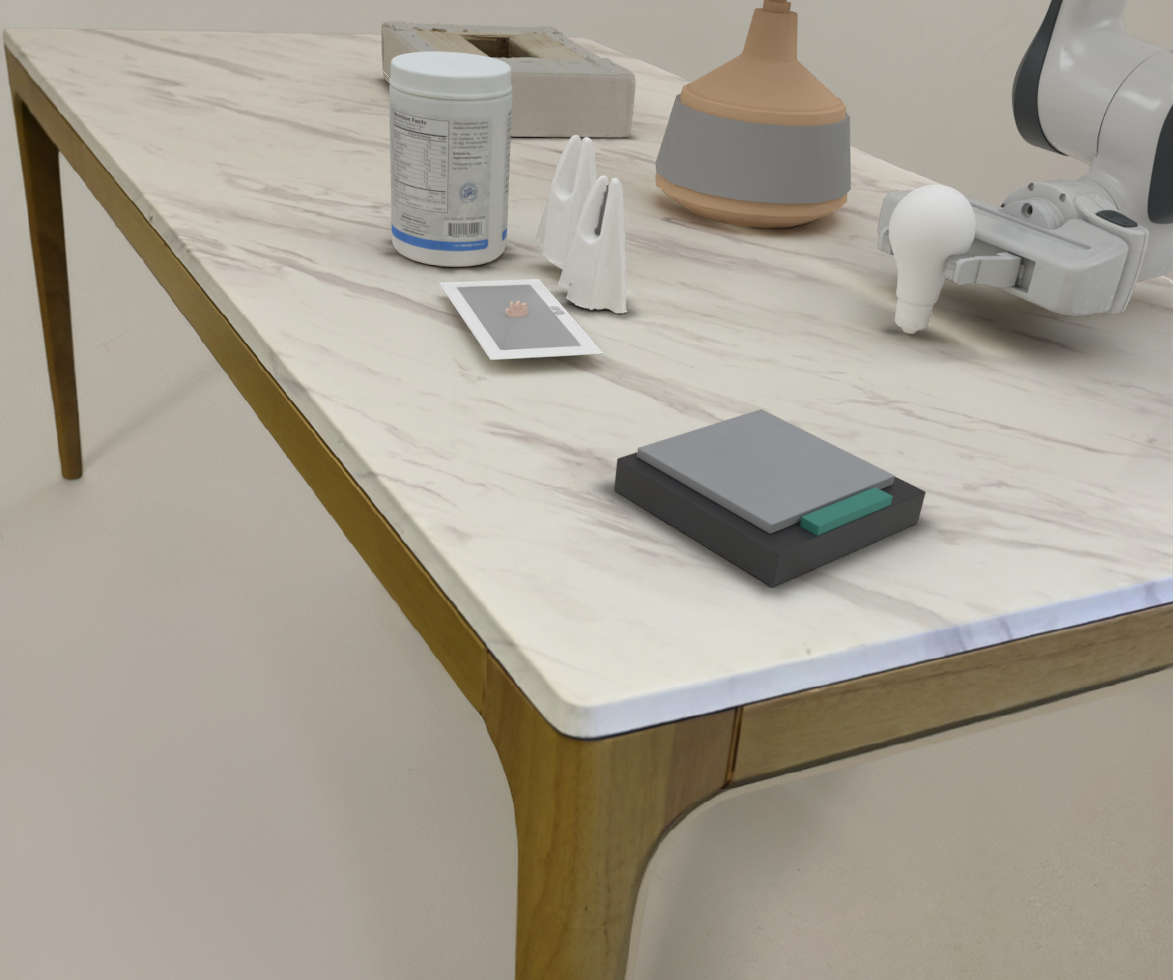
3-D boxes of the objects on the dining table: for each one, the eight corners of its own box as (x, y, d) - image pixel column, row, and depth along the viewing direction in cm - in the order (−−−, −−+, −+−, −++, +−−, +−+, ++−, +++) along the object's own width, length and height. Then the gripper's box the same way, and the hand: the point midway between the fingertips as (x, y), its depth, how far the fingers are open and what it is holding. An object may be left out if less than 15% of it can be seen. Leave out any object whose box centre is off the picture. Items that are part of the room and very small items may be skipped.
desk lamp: (718, 171, 132) (772, -238, 112) (881, 210, 123) (970, -226, 104) (604, 207, 116) (644, -260, 97) (782, 255, 108) (864, -247, 88)
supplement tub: (432, 227, 107) (433, 45, 99) (527, 249, 104) (536, 63, 96) (367, 253, 99) (363, 59, 91) (467, 279, 96) (472, 80, 88)
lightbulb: (899, 351, 90) (932, 199, 84) (852, 321, 94) (881, 176, 88) (966, 343, 92) (1003, 195, 86) (917, 315, 97) (949, 173, 91)
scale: (918, 523, 68) (929, 481, 66) (772, 587, 61) (780, 542, 59) (759, 441, 75) (766, 402, 74) (613, 490, 68) (617, 448, 67)
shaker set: (530, 264, 100) (538, 123, 94) (579, 262, 102) (589, 123, 96) (577, 316, 91) (589, 163, 85) (629, 313, 92) (645, 163, 86)
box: (377, 80, 159) (437, 138, 134) (377, 15, 155) (439, 62, 130) (547, 85, 167) (633, 141, 142) (551, 23, 163) (640, 69, 138)
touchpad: (490, 375, 80) (491, 343, 79) (438, 296, 92) (438, 268, 91) (602, 368, 83) (604, 338, 82) (538, 292, 95) (539, 265, 93)
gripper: (962, 165, 101) (833, 175, 95) (1169, 236, 87) (1034, 254, 81) (944, 240, 105) (819, 255, 98) (1141, 321, 90) (1009, 345, 84)
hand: (917, 255), depth 89 cm, fingers closed on lightbulb, 6 cm apart
